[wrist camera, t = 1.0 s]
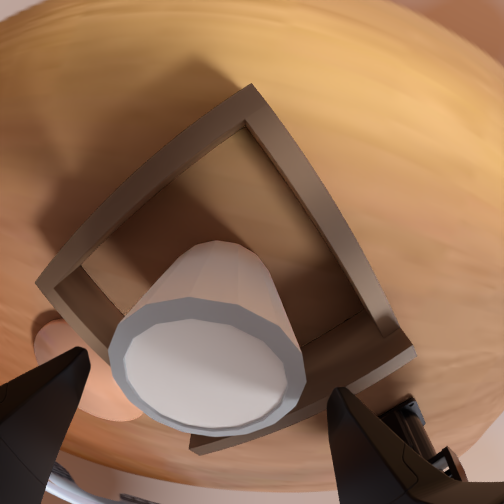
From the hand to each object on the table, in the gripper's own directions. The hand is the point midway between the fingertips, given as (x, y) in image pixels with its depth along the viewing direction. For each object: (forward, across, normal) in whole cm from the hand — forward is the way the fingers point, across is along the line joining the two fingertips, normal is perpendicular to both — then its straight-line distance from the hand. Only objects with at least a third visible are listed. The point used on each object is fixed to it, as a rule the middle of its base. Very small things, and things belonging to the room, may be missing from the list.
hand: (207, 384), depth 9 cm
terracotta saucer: (+7, +9, +9) cm, 15 cm away
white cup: (+7, 0, 0) cm, 7 cm away
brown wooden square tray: (+7, 0, 0) cm, 7 cm away
